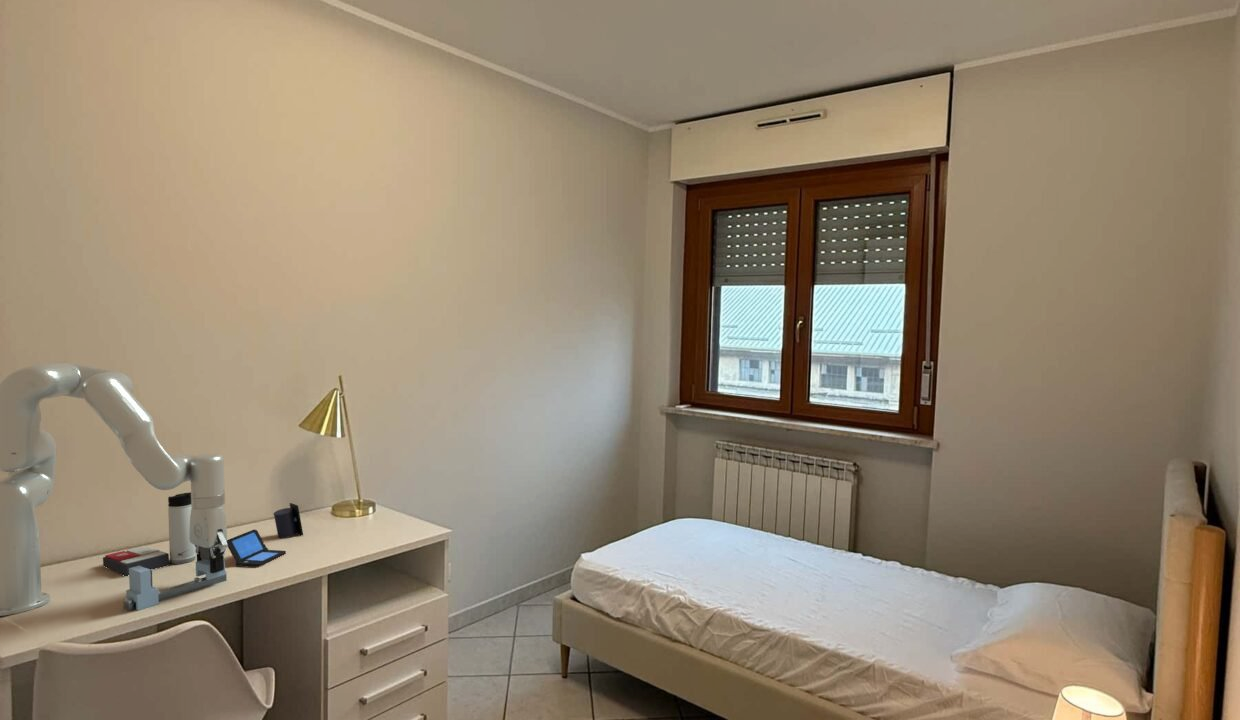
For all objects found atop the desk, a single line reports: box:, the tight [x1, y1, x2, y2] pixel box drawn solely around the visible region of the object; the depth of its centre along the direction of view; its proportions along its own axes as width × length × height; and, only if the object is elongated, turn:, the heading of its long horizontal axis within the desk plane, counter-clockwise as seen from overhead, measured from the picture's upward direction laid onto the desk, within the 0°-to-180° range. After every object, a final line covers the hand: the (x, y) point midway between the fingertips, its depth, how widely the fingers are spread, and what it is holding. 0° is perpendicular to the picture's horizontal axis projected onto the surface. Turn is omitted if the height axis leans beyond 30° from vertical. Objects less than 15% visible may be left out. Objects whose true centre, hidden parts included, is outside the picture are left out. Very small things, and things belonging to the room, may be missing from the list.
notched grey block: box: [195, 542, 226, 580], centre depth 177 cm, size 6×4×9 cm
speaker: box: [273, 502, 304, 539], centre depth 220 cm, size 8×6×10 cm
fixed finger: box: [125, 566, 159, 611], centre depth 164 cm, size 6×4×9 cm
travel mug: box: [167, 491, 196, 565], centre depth 196 cm, size 6×7×20 cm
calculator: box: [102, 545, 170, 577], centre depth 192 cm, size 11×4×15 cm
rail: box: [123, 570, 228, 612], centre depth 171 cm, size 23×2×3 cm, turn 149°
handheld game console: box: [226, 529, 287, 568], centre depth 197 cm, size 12×11×7 cm
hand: (210, 568), depth 178 cm, fingers closed on notched grey block, 5 cm apart
